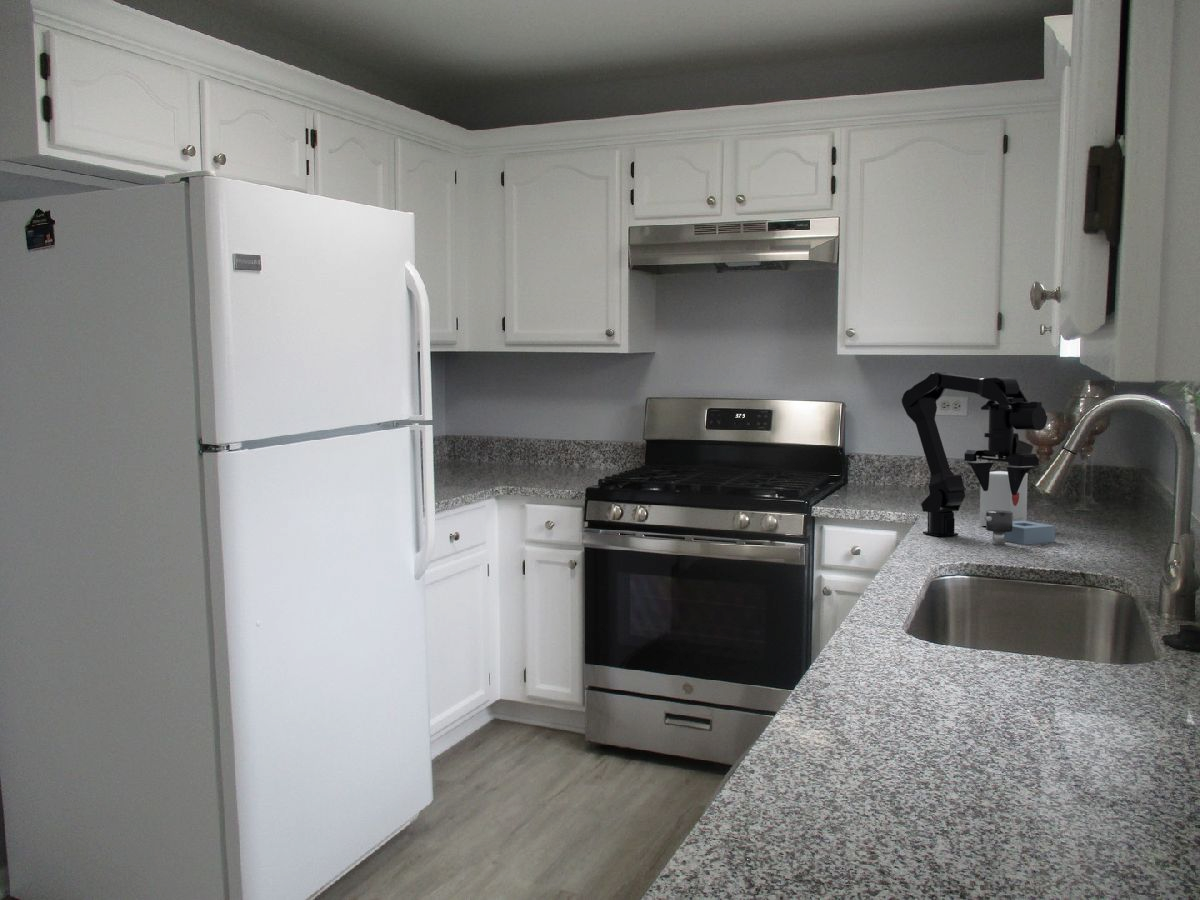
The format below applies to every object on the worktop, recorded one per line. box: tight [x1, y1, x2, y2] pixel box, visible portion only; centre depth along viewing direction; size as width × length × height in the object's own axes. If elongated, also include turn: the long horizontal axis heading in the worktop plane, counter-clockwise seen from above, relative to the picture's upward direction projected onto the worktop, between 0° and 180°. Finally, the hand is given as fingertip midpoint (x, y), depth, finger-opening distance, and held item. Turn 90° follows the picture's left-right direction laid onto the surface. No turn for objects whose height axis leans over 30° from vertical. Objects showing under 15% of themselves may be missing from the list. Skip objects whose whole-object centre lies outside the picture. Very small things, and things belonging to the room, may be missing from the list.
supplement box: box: [979, 470, 1029, 527], centre depth 260 cm, size 9×9×15 cm
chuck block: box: [1005, 520, 1056, 546], centre depth 238 cm, size 10×10×4 cm
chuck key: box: [985, 510, 1014, 546], centre depth 232 cm, size 8×6×8 cm
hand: (999, 492), depth 232 cm, fingers open, 9 cm apart
